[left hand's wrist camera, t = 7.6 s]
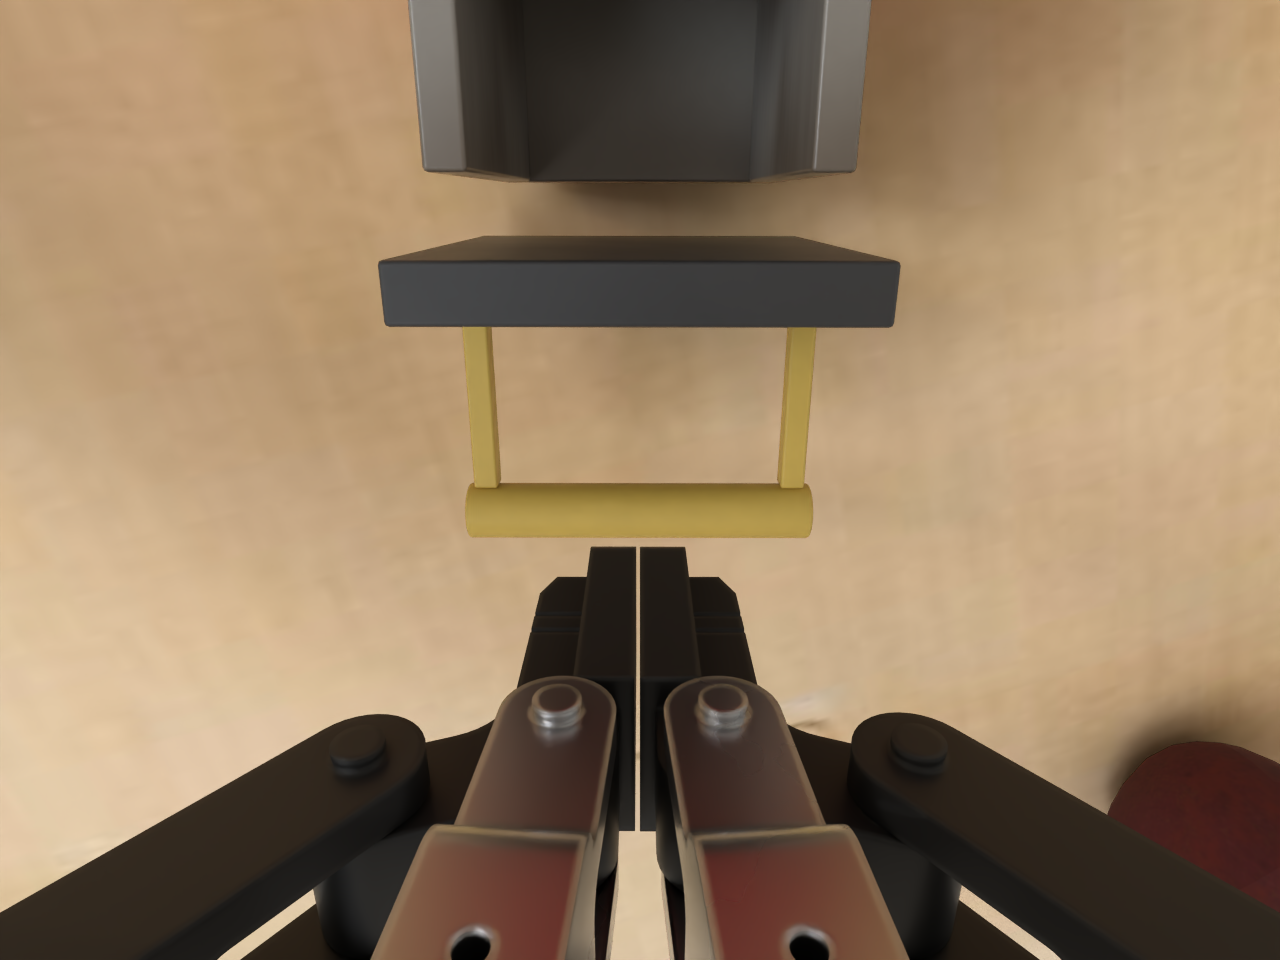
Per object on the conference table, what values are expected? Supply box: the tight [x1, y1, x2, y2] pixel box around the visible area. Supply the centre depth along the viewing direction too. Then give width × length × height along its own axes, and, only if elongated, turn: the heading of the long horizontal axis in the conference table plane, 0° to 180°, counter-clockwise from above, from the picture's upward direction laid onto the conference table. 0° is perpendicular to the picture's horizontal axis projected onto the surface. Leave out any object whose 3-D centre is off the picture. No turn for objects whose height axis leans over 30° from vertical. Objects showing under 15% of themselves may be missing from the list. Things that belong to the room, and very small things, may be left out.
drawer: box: [378, 0, 900, 538], centre depth 17 cm, size 22×10×10 cm, turn 0°
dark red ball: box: [1108, 741, 1280, 913], centre depth 28 cm, size 7×8×7 cm
